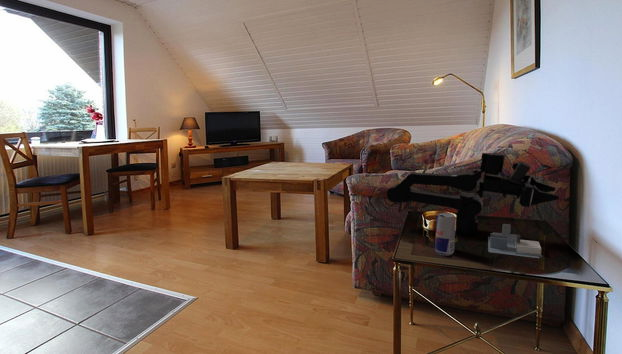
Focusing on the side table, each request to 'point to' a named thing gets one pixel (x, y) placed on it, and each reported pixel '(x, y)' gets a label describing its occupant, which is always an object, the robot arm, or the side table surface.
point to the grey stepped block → (507, 234)
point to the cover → (528, 247)
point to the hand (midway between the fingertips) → (556, 193)
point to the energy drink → (445, 234)
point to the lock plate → (505, 247)
